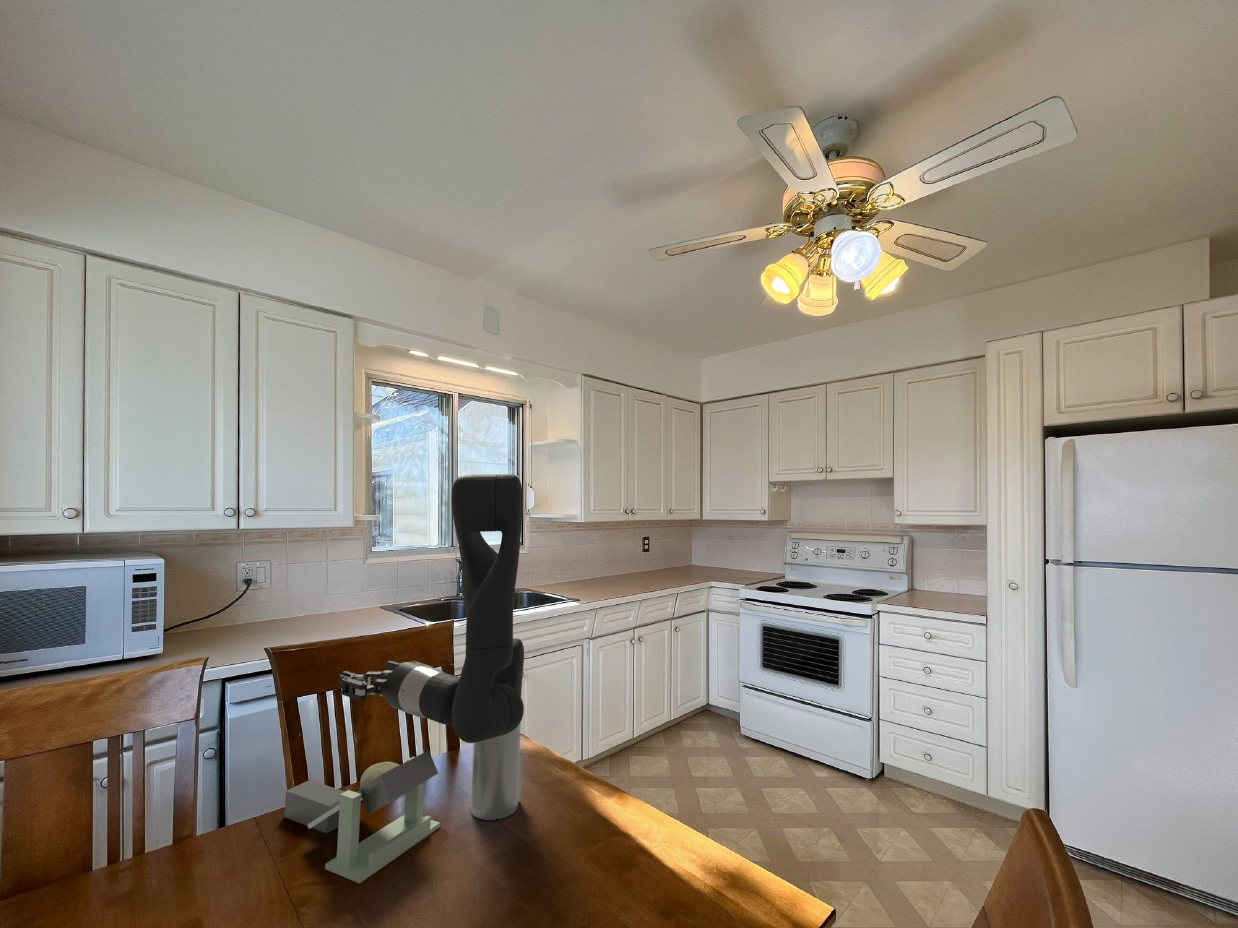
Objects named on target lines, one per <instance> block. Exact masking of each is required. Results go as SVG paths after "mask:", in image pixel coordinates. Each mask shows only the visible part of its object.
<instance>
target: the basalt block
mask: <svg viewBox="0 0 1238 928" xmlns="http://www.w3.org/2000/svg"><path fill="white" fill-rule="evenodd" d="M344 792H345V790H341V789H338V788H334V787H332V786H329V785H327V784H323V783H320V782H317V781H314V780H311V779H309V780H306V781H304V782H301V784H298V785H296V786H294V787H291V788H289V789H287V790H286V791H285V798H284V799H285V801H284V802H285V803H284V815H283V816H284V818H286V819H289V820H292V821H294V822H296V823H298V824H302V825H305V826H306V827H308V824H309V823H311V822H312V821H314V820H315V819H317V818H318V817H320V816H322V815H323V814H325V813H326V812H328V811H329V810H331V809H332V808H334V807H336V806H337V805H339V804H340V794H342V793H344ZM285 809H286V810H285ZM338 826H339V813H338V814H336V815H334V816H332V817H330V818H328V819H327V820H325V821H323V822H321V823H319V824H317V825H316V826H314V827H312V828H311V829H314V830H317V831H318V832H319V831H320V832H322V833H325V834H328V833H330V832H332V831H333V830H335V829H337V828H338Z"/></svg>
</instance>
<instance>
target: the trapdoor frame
mask: <svg viewBox="0 0 1238 928" xmlns="http://www.w3.org/2000/svg"><path fill="white" fill-rule="evenodd" d="M415 757H416V756H412V757H409V758H408V759H406V762H407V761H409V760H411V759H413V758H415ZM424 788H425V782H424V783H422V784H420V785H419V786H417V787H415V788H414V789H412V790H410V791H408V792H407V793H405V794H404V812H403V815H401V816H399V817H398V818H396V819H395V820H393V821H392V822H390V823H389V824H387V825H385V826H384V827H382V828H381V829H378V831H376V832H374V833H372V834H371V835H370V836H368V837H366V838H365V839H363V840H362V841H360V842H359V839H360V838H359V837H360V821H361V820H360V819H361V805H362V804H361V802H362V800H361V794H359V793H356V792H357V791H352V790H350V789H347V790H346V791H344V793H342V794H340V808H339V826H338V827H337V828H338V830H337V844H336V845H337V847H336V848H337V849H336V856H335V858H332V859H331V860H329V861H328V862H326V863H325V865H324V870H326V871H329V872H331V873H333V874H336V875H338V876H341V877H344V878H346V879H347V880H349V881H353V882H355V883H358V884H362V883H363V882H364V881H365V880H367V879H368V878H369V877H371V876H372V875H374V874H375V873H377V872H378V871H379V870H381V869H382V868H383V867H385V866H387V865H388V864H389V863H391V862H392V861H394V860H395V859H396V858H398V857H400V856H401V855H402V854H403V853H405V852H407V851H408V850H409V849H411V848H413V846H415V845H416V844H418V843H420V842H421V841H422V840H424V839H425V838H427V837H428V836H429V835H431V834H432V833H433V832H435V831H436V830H438V829H439V828H440V827H441V822H439V821H436V820H433V819H432V817H431V816H430V815H426V816H424V815H423V814H424V813H423V812H424V793H425V791H424V790H425V789H424Z"/></svg>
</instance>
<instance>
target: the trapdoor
mask: <svg viewBox="0 0 1238 928" xmlns="http://www.w3.org/2000/svg"><path fill="white" fill-rule="evenodd" d="M414 757H415V758H413V759H411V760H409V761H407V760H406V761H405V762H402V763H401V764H399V766H397V767H395V768H393V769H391V770H389V771H387V772H385V773H384V774H382V775H380V776H378V777H377V778H375V779H374V780H372V781H371V782H369V783H367V784H366V785H364V786H363V787H361V788H360V787H359V789H358V790H357V791H355V792H356V793H359V794H361V801H363V804H364V808H365V810H366V814H367V815H370V814H372V813H374V812H376V811H378V810H379V809H381V808H383V807H384V806H386V805H388V804H389V803H391V802H393V801H395V800H397V799H399V798H400V797H402V796H404V795H405V793H407V792H408V791H410V790H412V789H414V788H415V787H417V786H419V785H420V784H422V783H424V784H425V782H427V781H429V780H430V779H432V778H433V777H435V776H437V775H438V774H439V772H438V769H437V766H436V764H435V762H434V759H433V757H432V755H431V751H430V749H429V750H426V751H425V752H422V753H420V754H419V755H416V756H414ZM339 808H340V804H339V805H337V806H336V807H334V808H332V809H331V810H329V811H328V812H326V813H325V814H323V815H322V816H320V817H318V818H317V819H315V820H314V821H312V822H311V823H309V824H308V826H307V827H308V829H309V830H310V829H313V828H312V827H314V826H316V825H317V824H319V823H321V822H323V821H325V820H327V819H328V818H330V817H332V816H334V815H336V814H338V813H339Z"/></svg>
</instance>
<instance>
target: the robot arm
mask: <svg viewBox="0 0 1238 928" xmlns="http://www.w3.org/2000/svg"><path fill="white" fill-rule="evenodd" d="M523 493H524V491H523V486H522V483H521V480H520V478H519V477H518V476H517V475H515V474H510V473H509V474H508V473H506V474H505V473H499V474H495V473H493V474H492V473H489V474H488V473H485V474H484V473H483V474H482V473H481V474H480V473H479V474H478V473H477V474H476V473H475V474H472V473H471V474H463V475H460V476H458V477H456V479H455V480H454V482H453V485H452V488H451V495H450V496H451V512H452V519H453V523H454V524H453V525H454V529H455V535H456V539H457V544H458V549H459V556H460V563H461V579H462V582H461V583H462V595H463V605H464V611H465V616H466V623H465V624H466V625H465V657H464V662H463V666H462V668H461V672H460V675H459V676H457V675H453V674H450V673H447V672H444V671H442V670H441V669H438V668H435V667H433V666H431V665H429V664H428V665H427V664H425V663H422V662H419V661H416V660H414V661H406V662H405V661H404V662H401V663H399V662H396V661H392V660H388V661H386V662H385V669H384V670H383V671H367V672H366V673H364V674H357V673H355V672H351V671H348V670H344V671H341V673H340V674H339V685H341V691H340V695H341V696H344V697H348V698H351V699H354V700H357V701H367V696H368V695H369V696H370V695H373V696H374V695H378V696H380V697H384V699H385V701H386V702H387V704H388V705H389V706H390V707H392V708H393V709H395V710H399V711H401V712H403V713H404V712H405V714H406V713H407V714H409V715H412V716H415V717H418V718H422V719H428V720H431V721H433V722H436V723H438V724H442V725H446V726H453V729H454V732H455V733H456V736H457V737H458V739H460V740H461V741H462V742H463V743H467V744H473V747H472V749H473V751H472V773H471V774H472V775H471V797H470V800H471V801H470V812H471V814H472V816H474V817H475V818H477V819H480V820H485V821H495V820H496V819H498V820H502V818H503V819H505V817H506V818H508V817H510V816H511V814H512V815H514V813H516V812H517V810H518V808H519V803H518V801H519V800H520V801H521V788H522V761H523V760H522V758H523V756H522V753H521V750H520V749H521V722H522V720H523V717H524V713H525V707H524V702H523V699H522V689H523V686H522V685H523V675H524V666H525V648H524V643H523V641H522V640H521V638H520V639H519V638H516V637H515V638H514V608H515V605H516V583H517V578H518V577H517V575H518V567H519V559H520V548H521V539H522V529H523V528H522V526H523V513H524V512H523V511H524V496H523V495H524V494H523ZM483 532H485V533H486V532H487V533H488V532H489V533H490V532H501V540H500V545H499V550H498V552H497V551H496V550H494V548H493V547H491V545H489V544H488V542H487V541H486V540H485V538H484V537H483V535H482V533H483ZM371 678H373V682H372V685H371ZM517 807H518V808H517ZM516 809H517V810H516ZM509 815H510V816H509ZM507 816H508V817H507ZM496 821H497V820H496Z"/></svg>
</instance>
